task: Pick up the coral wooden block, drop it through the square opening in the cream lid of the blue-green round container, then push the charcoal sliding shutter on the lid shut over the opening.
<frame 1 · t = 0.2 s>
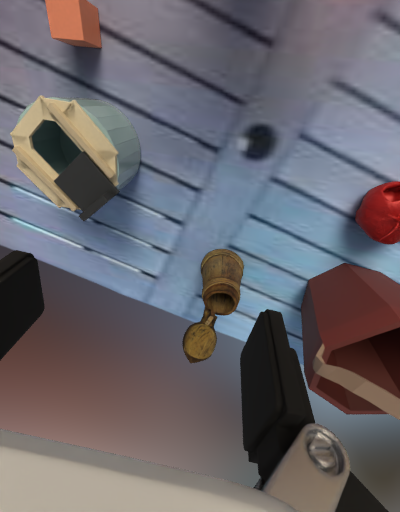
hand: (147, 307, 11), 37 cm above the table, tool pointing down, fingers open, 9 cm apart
lid: (64, 160, 34), on the blue-green round container, point 10 cm above the table
blue-green round container: (99, 148, 43), on the table
slider: (82, 188, 34), point 12 cm above the table, slide at 6.2 cm
pomegranate: (381, 205, 44), on the table
wooden mug: (216, 274, 55), on the table
block: (85, 27, 35), on the table
bucket: (343, 293, 54), on the table
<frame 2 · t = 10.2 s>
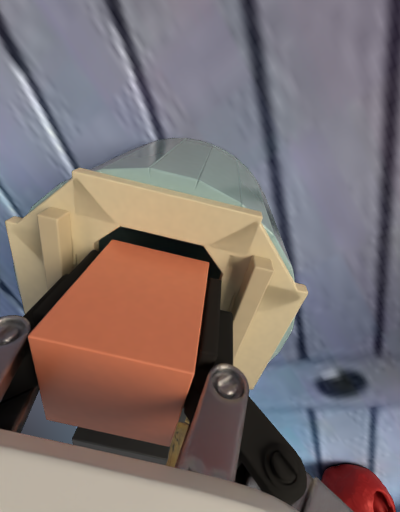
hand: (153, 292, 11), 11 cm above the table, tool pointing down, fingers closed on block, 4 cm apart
lid: (148, 322, 13), on the blue-green round container, point 10 cm above the table
blue-green round container: (183, 229, 22), on the table
slider: (131, 399, 13), point 12 cm above the table, slide at 6.2 cm
pomegranate: (346, 471, 41), on the table
wooden mug: (156, 418, 39), on the table
block: (155, 288, 12), point 10 cm above the table, touching gripper
when the fingers open (13 cm above the table, at t = 22.5 s): block drops 12 cm, resting on blue-green round container.
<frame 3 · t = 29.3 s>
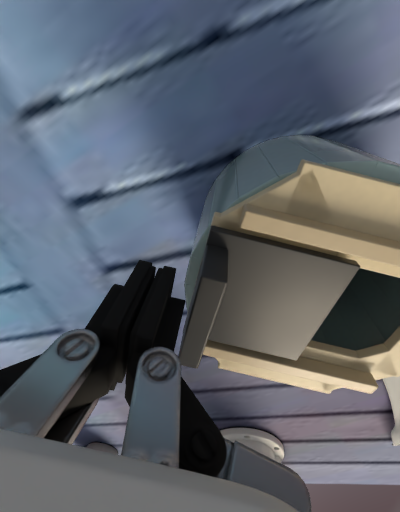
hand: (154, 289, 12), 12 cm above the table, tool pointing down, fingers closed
lid: (321, 311, 13), on the blue-green round container, point 10 cm above the table
blue-green round container: (283, 225, 22), on the table
slider: (262, 319, 12), point 12 cm above the table, slide at 5.3 cm, touching gripper
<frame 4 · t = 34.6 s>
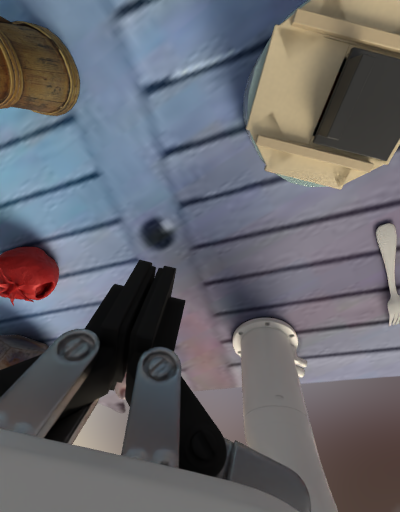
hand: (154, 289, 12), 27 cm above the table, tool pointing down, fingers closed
cupcake: (139, 355, 58), on the table
lid: (337, 101, 21), on the blue-green round container, point 10 cm above the table
planter: (32, 352, 62), on the table
blue-green round container: (304, 102, 30), on the table
slider: (377, 109, 19), point 12 cm above the table, slide at -0.6 cm
pomegranate: (40, 263, 47), on the table
wooden mug: (35, 51, 30), on the table
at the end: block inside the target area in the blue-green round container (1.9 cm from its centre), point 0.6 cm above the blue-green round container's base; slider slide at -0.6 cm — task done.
